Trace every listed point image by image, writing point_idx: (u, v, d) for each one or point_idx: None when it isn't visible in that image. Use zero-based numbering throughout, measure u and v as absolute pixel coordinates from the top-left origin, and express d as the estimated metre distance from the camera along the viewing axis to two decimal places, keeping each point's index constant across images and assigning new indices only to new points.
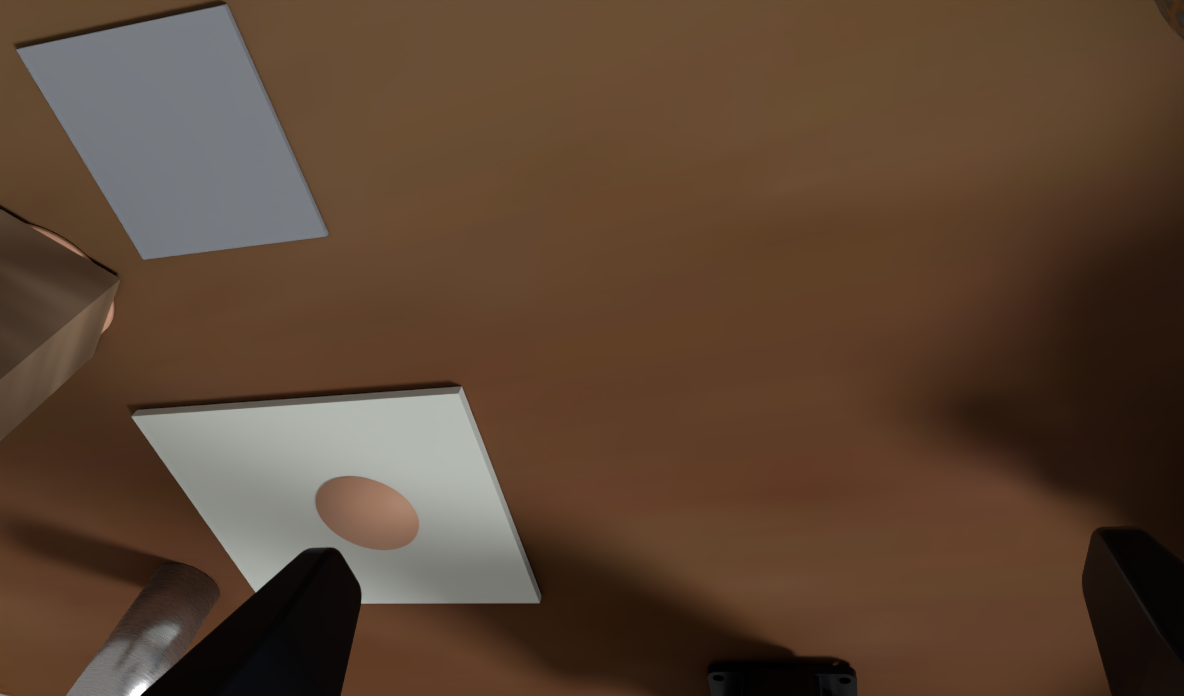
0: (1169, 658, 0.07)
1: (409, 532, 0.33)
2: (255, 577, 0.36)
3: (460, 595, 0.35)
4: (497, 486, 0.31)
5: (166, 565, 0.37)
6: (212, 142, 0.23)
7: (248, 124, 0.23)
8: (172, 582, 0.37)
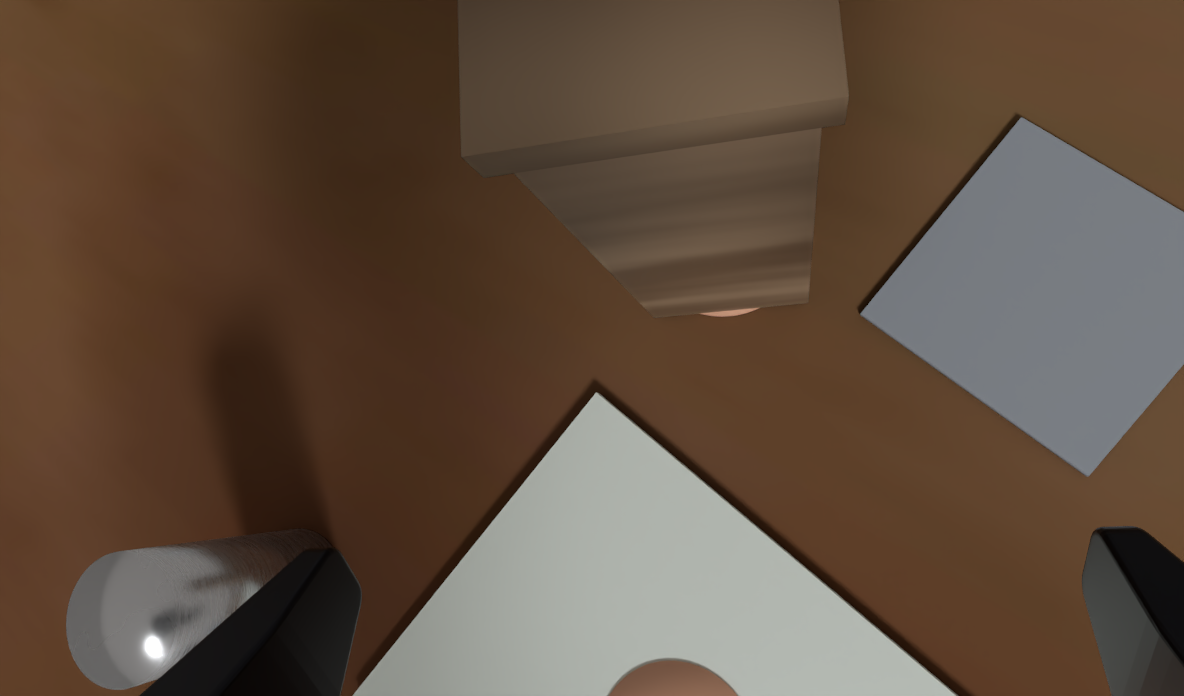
0: (1169, 658, 0.07)
1: None
2: (403, 660, 0.24)
3: None
4: None
5: (320, 537, 0.25)
6: (1094, 316, 0.21)
7: (1145, 338, 0.20)
8: None
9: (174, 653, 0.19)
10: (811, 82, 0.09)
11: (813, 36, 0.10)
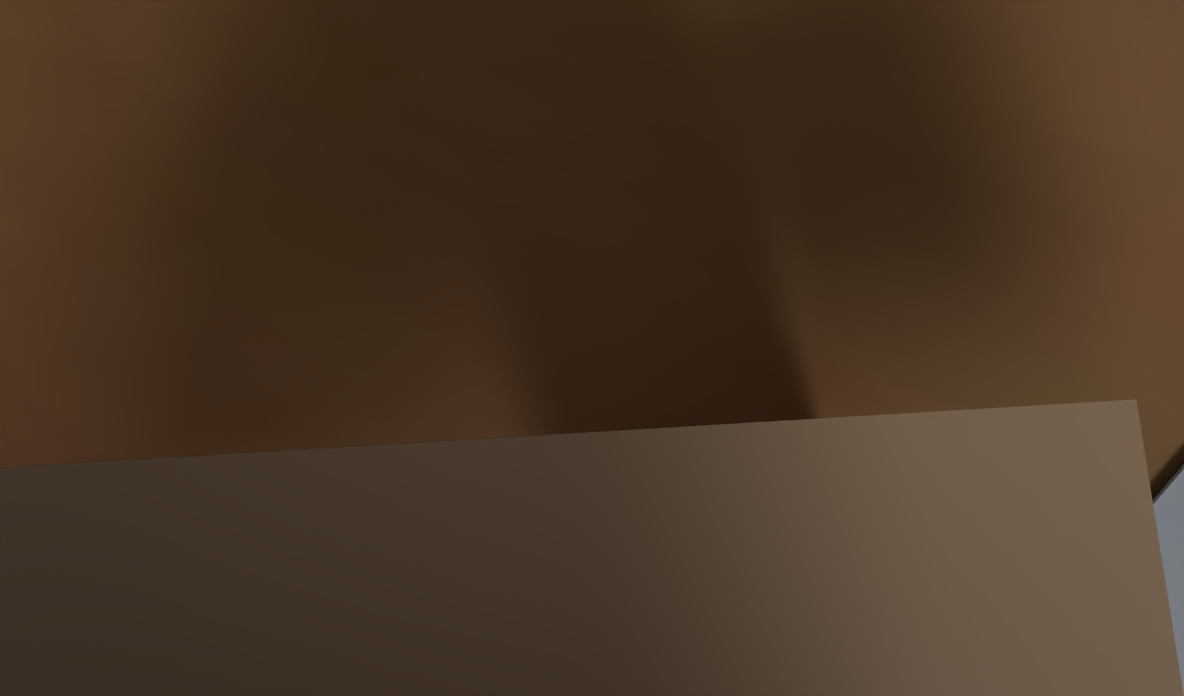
0: None
1: None
2: None
3: None
4: None
5: None
6: None
7: None
8: None
9: None
10: None
11: None
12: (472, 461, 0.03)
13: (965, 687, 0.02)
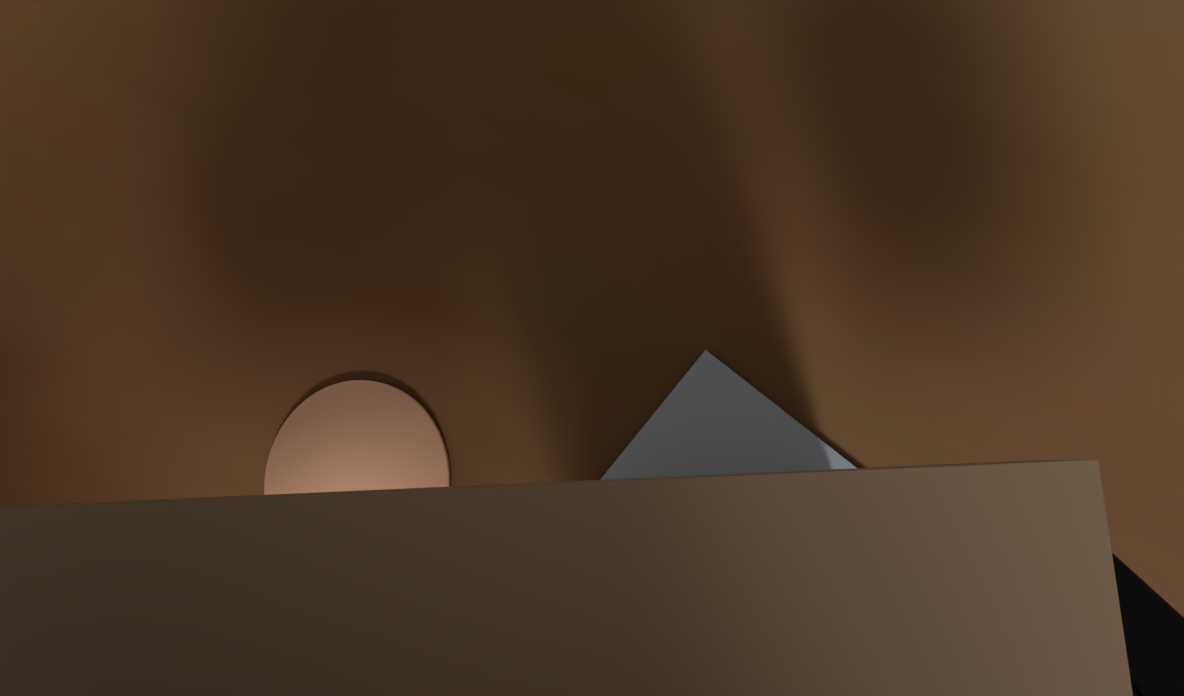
0: None
1: None
2: None
3: None
4: None
5: None
6: None
7: None
8: None
9: None
10: None
11: None
12: (532, 505, 0.03)
13: None
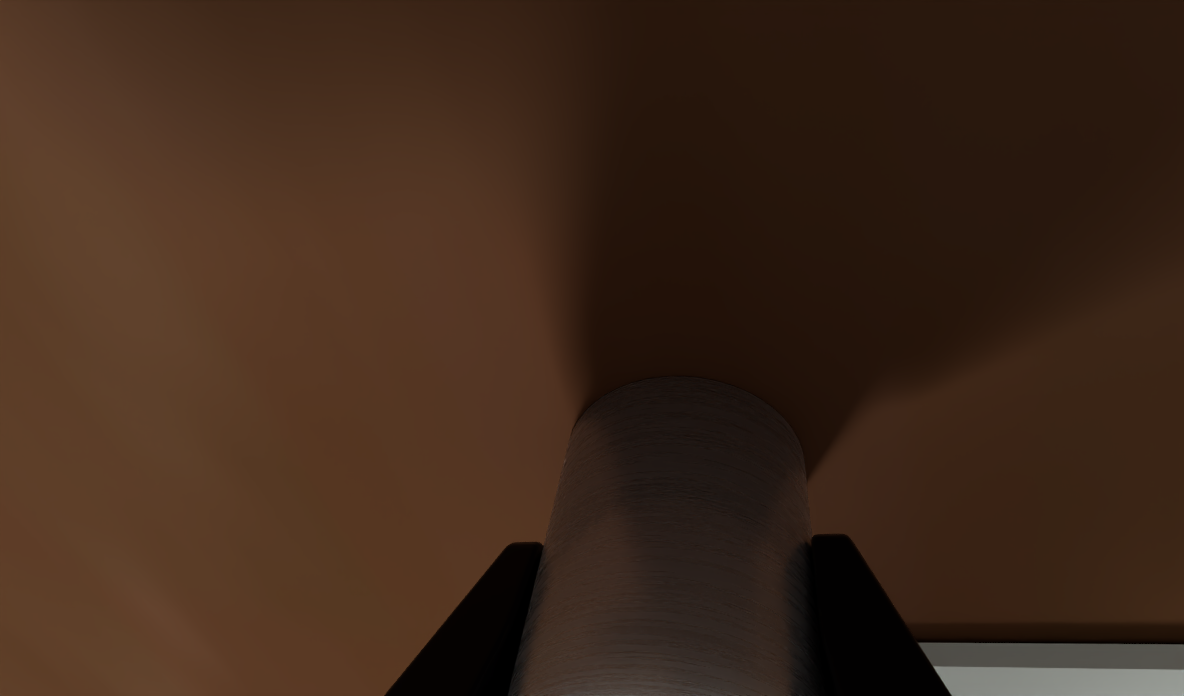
0: (825, 655, 0.07)
1: None
2: None
3: None
4: None
5: (802, 457, 0.10)
6: None
7: None
8: None
9: None
10: None
11: None
12: None
13: None
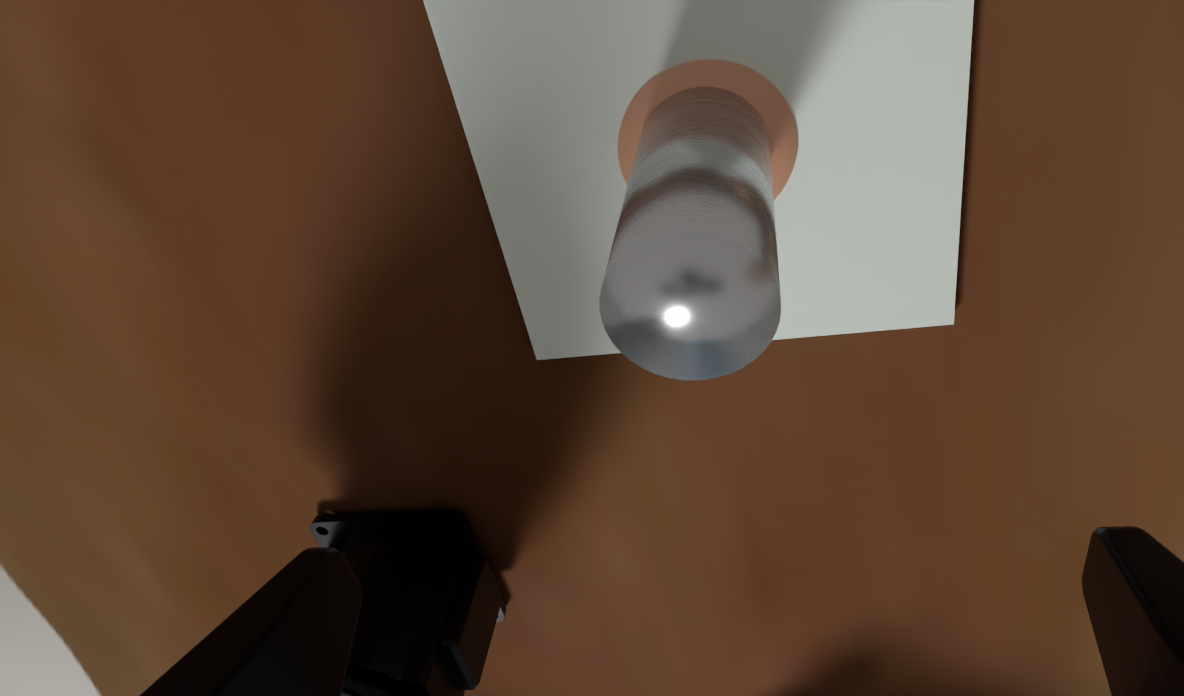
0: (1169, 658, 0.07)
1: None
2: None
3: (523, 258, 0.22)
4: None
5: (767, 135, 0.19)
6: None
7: None
8: None
9: (717, 368, 0.15)
10: None
11: None
12: None
13: None
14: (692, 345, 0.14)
